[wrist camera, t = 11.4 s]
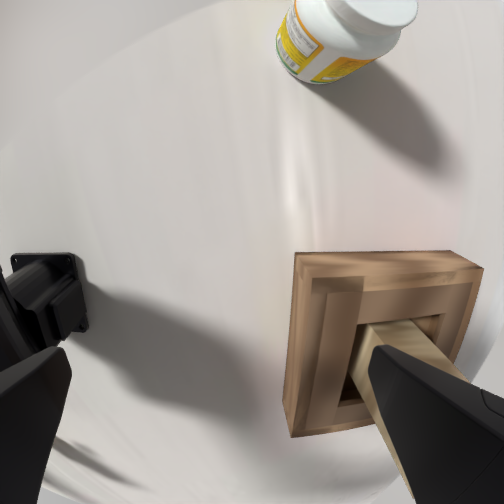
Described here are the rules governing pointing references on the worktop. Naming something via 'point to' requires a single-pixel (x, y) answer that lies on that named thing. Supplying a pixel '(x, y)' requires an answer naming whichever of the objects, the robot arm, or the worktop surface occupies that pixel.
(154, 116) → the worktop surface
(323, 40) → the supplement bottle
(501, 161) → the worktop surface
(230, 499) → the worktop surface
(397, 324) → the oak block
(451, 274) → the box
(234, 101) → the worktop surface
